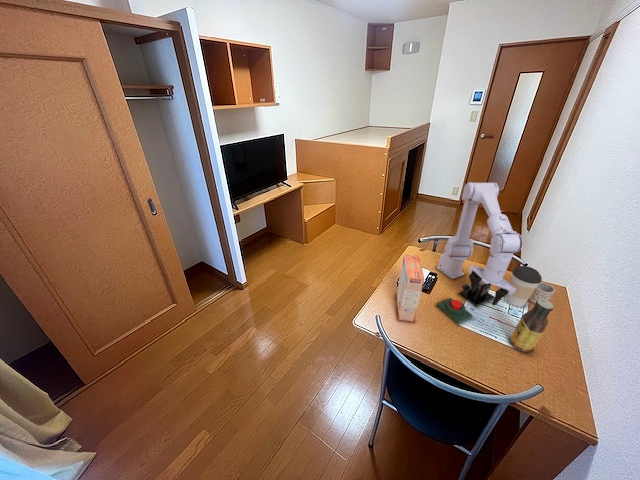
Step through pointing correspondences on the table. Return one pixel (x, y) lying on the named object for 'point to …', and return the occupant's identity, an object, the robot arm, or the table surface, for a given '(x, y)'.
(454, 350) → the table surface
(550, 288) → the mug
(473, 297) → the bracket
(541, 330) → the sauce bottle
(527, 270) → the coffee cup
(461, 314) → the block
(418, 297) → the cracker box
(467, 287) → the lever
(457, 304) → the button
